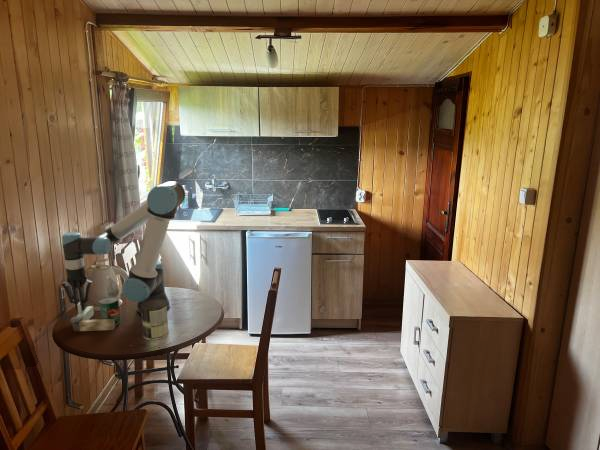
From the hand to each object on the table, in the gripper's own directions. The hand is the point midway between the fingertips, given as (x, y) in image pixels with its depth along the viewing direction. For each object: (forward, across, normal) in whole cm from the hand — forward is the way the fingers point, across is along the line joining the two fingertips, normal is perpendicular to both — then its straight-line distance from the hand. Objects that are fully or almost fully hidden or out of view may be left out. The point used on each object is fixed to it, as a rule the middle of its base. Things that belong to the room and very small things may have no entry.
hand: (81, 316), depth 197 cm
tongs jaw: (+1, -2, +4) cm, 4 cm away
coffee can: (+2, -37, +18) cm, 41 cm away
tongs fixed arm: (+2, -9, +11) cm, 14 cm away
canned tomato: (+2, -14, +4) cm, 15 cm away
